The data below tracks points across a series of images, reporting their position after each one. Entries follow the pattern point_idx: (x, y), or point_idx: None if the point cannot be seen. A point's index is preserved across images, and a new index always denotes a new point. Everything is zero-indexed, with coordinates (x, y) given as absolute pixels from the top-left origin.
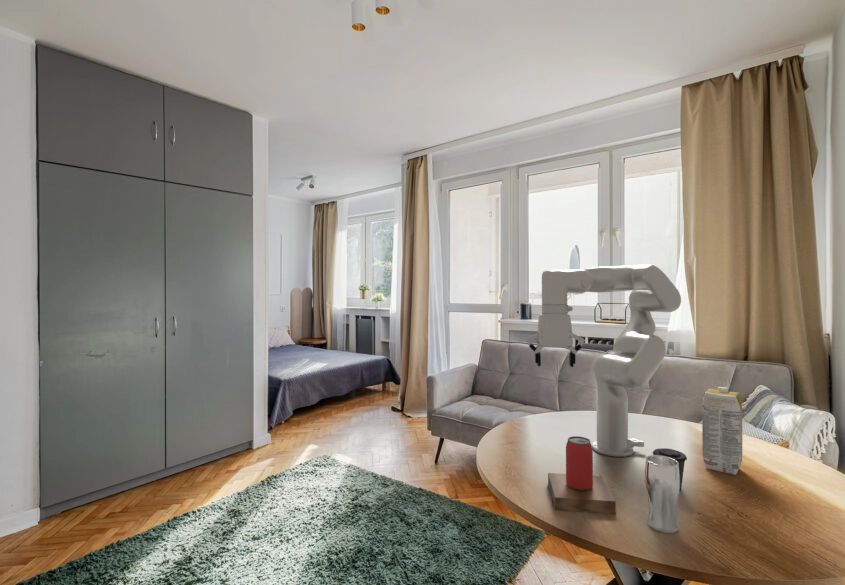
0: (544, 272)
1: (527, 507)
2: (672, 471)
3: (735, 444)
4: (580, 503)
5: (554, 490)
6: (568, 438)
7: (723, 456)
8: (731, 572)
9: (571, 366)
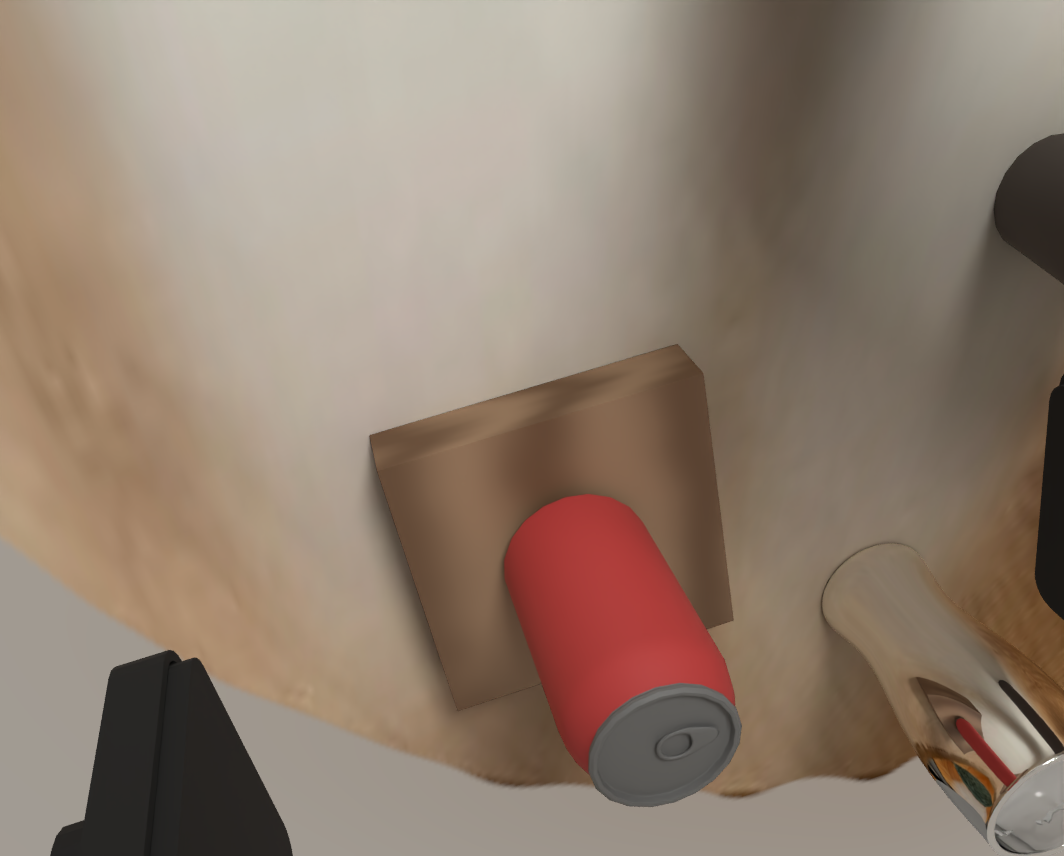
0: None
1: (316, 707)
2: (1057, 824)
3: None
4: None
5: (446, 652)
6: (595, 762)
7: None
8: None
9: (1049, 581)
